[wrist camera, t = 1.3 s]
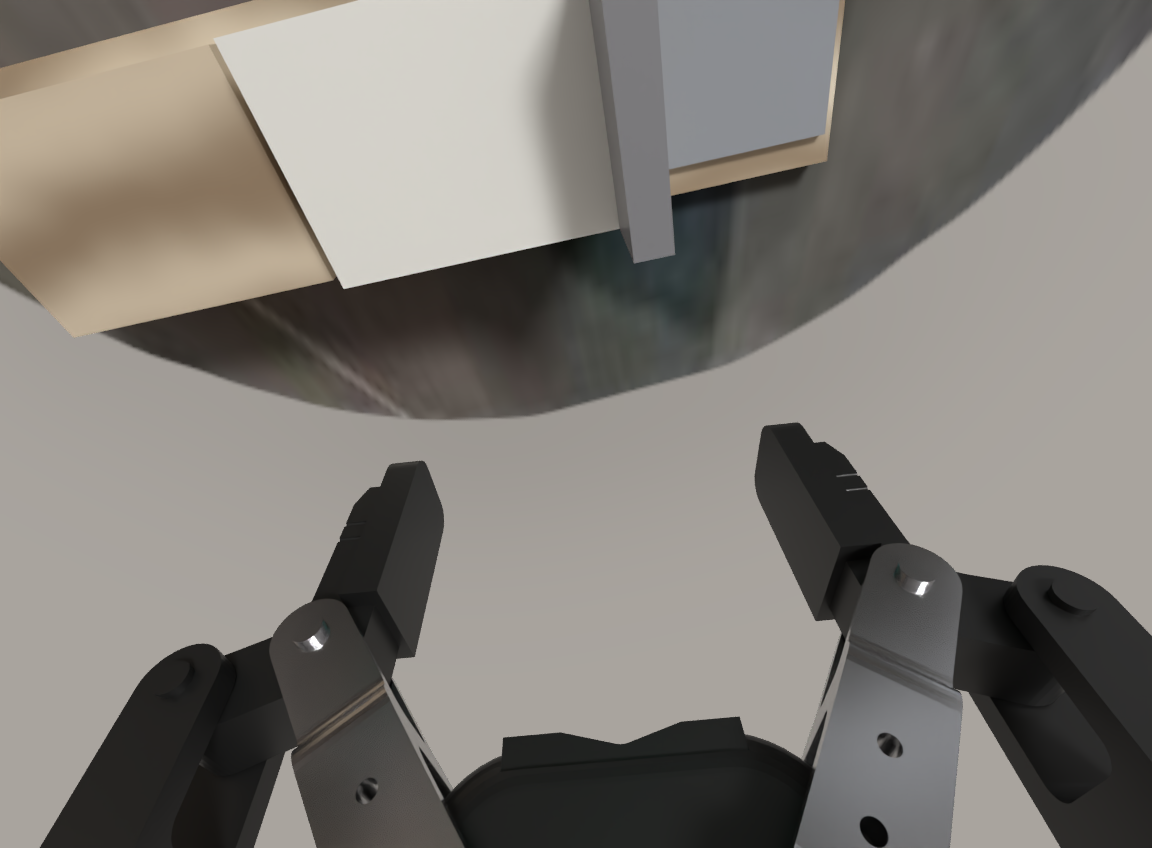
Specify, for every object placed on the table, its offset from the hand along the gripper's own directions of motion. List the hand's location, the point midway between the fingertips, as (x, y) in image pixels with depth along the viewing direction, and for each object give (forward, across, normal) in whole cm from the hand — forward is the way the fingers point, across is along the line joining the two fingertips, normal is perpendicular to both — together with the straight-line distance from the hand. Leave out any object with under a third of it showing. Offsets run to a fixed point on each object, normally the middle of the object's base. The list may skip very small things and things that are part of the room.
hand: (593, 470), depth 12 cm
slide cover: (+14, +4, -6) cm, 16 cm away
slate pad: (+21, -9, -7) cm, 24 cm away
